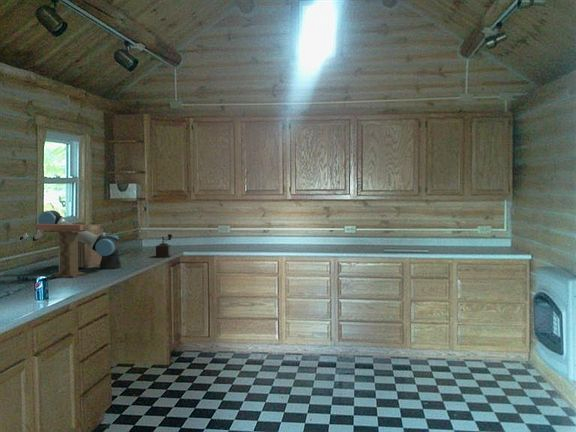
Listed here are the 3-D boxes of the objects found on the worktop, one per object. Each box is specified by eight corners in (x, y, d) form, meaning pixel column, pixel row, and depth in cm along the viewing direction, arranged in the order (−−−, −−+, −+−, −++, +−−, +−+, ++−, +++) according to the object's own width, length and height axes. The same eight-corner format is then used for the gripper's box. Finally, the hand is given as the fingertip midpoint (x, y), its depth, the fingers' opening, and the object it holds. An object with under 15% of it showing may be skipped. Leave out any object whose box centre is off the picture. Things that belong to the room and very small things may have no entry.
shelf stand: (51, 276, 376) (50, 230, 374) (65, 273, 388) (64, 228, 386) (73, 278, 370) (72, 231, 368) (86, 274, 383) (85, 229, 381)
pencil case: (36, 229, 379) (36, 224, 379) (40, 229, 383) (40, 223, 383) (80, 230, 375) (79, 224, 375) (83, 229, 380) (83, 224, 380)
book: (84, 268, 410) (84, 226, 408) (73, 268, 412) (72, 226, 410) (104, 263, 434) (103, 223, 433) (92, 263, 437) (92, 223, 435)
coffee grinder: (169, 257, 470) (168, 235, 469) (155, 257, 470) (155, 235, 469) (173, 255, 485) (173, 233, 484) (160, 255, 486) (159, 233, 484)
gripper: (28, 251, 404) (50, 237, 397) (0, 256, 380) (23, 240, 374) (24, 242, 404) (45, 227, 398) (-4, 245, 381) (18, 230, 374)
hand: (34, 234), depth 386 cm, fingers open, 13 cm apart
